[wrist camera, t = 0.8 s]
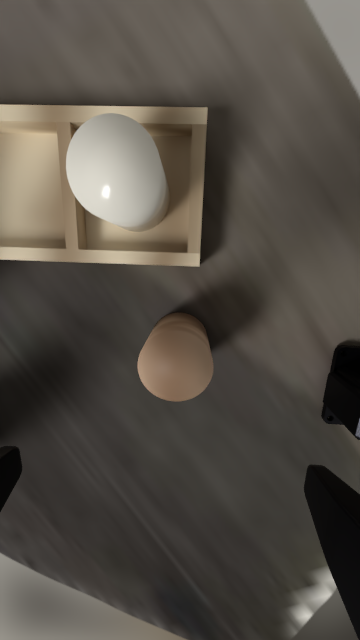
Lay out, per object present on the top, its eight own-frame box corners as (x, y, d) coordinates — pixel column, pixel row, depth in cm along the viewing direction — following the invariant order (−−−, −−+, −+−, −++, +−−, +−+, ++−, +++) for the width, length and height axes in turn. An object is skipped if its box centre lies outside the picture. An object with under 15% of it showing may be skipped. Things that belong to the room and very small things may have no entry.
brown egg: (209, 313, 18) (215, 333, 14) (205, 367, 19) (210, 403, 15) (151, 311, 19) (137, 329, 14) (151, 364, 20) (138, 399, 15)
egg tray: (205, 126, 15) (207, 107, 13) (198, 265, 17) (199, 266, 16) (-46, 122, 16) (-79, 103, 14) (-24, 257, 18) (-50, 257, 16)
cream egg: (170, 159, 15) (161, 114, 11) (169, 233, 16) (160, 222, 12) (102, 158, 16) (62, 112, 11) (104, 231, 17) (69, 219, 12)
